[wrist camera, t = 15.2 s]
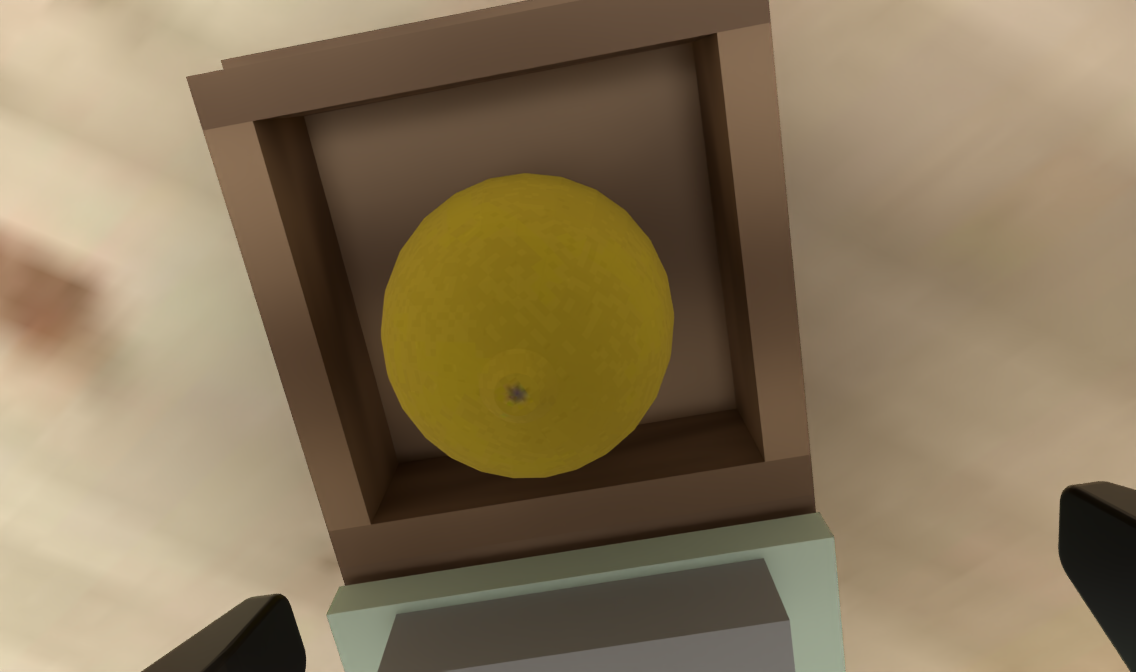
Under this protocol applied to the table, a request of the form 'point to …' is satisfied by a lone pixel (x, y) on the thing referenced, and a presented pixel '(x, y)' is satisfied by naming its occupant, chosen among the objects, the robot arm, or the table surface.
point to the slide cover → (612, 608)
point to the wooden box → (501, 148)
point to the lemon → (527, 325)
